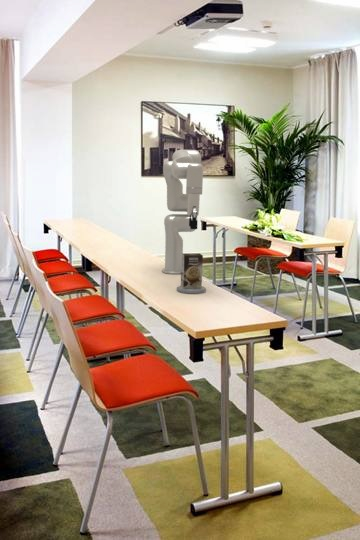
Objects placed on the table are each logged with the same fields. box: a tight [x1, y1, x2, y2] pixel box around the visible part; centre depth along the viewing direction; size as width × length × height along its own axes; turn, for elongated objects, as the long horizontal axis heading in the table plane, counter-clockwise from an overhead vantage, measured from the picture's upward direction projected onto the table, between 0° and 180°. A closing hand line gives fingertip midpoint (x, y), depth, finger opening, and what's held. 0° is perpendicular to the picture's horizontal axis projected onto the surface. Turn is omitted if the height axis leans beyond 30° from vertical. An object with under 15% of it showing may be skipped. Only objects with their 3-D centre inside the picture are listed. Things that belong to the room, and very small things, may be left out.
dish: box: [176, 285, 207, 295], centre depth 294 cm, size 14×14×2 cm
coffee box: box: [180, 252, 204, 289], centre depth 293 cm, size 9×6×16 cm
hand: (193, 227), depth 288 cm, fingers open, 9 cm apart
